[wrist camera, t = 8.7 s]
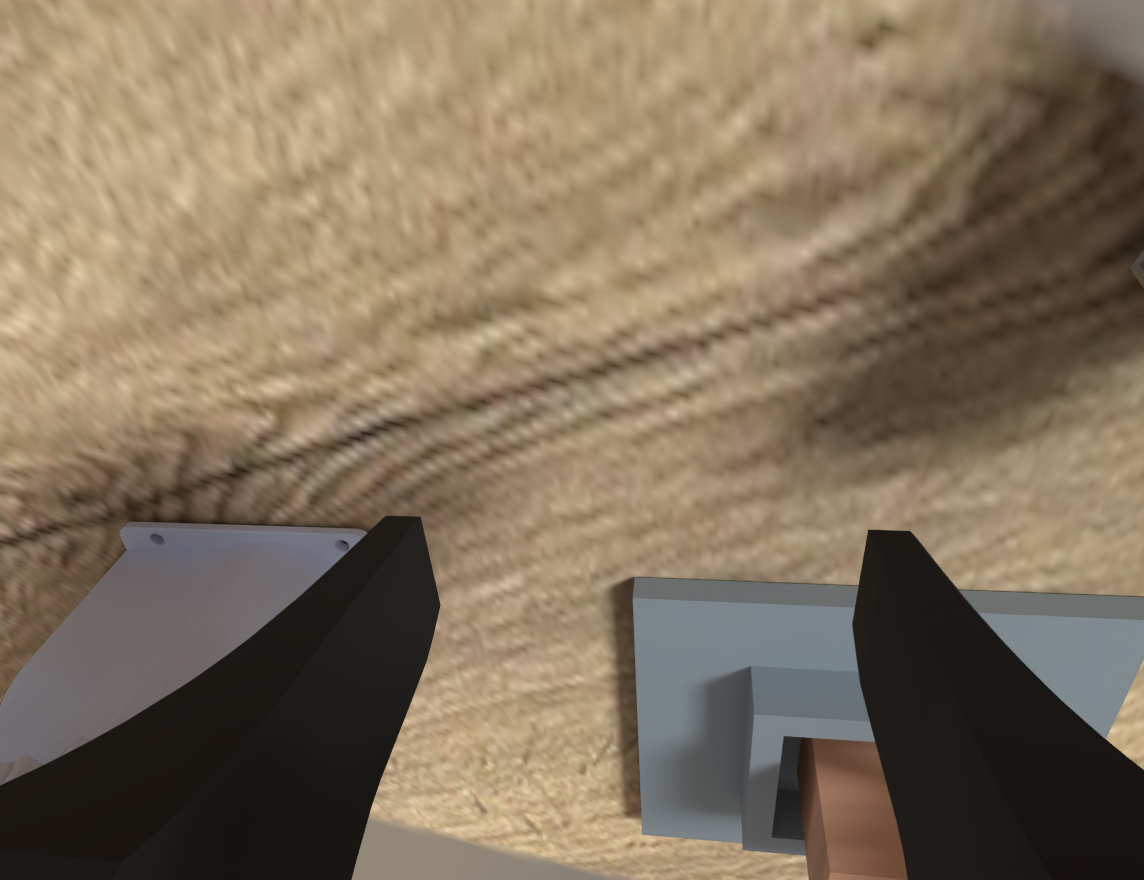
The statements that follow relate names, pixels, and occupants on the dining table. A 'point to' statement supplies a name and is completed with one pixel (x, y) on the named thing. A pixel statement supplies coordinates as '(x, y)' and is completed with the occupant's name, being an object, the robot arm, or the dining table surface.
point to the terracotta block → (847, 812)
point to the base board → (814, 690)
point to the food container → (1138, 268)
